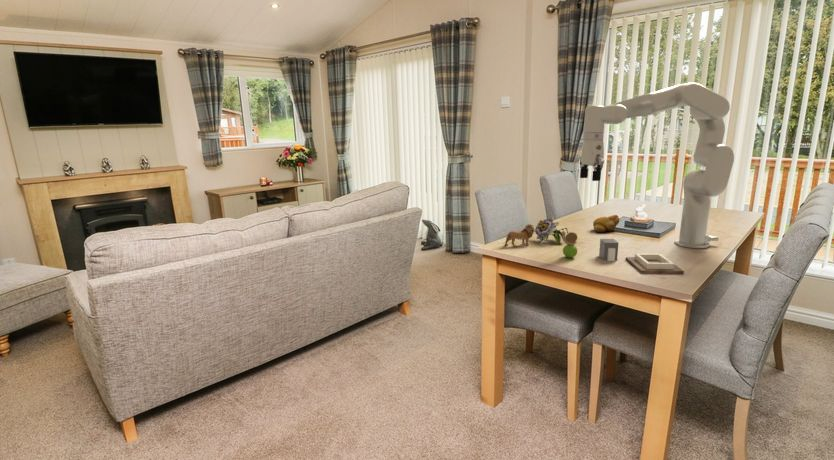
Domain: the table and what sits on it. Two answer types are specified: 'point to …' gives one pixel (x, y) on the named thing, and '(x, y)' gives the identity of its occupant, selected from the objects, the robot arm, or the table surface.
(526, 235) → the lion figurine
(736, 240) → the table surface
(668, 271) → the brown piece
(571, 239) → the snail figurine
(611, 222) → the brown toad figurine
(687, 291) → the table surface
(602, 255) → the grey rectangular block
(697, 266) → the table surface
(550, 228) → the passion flower
